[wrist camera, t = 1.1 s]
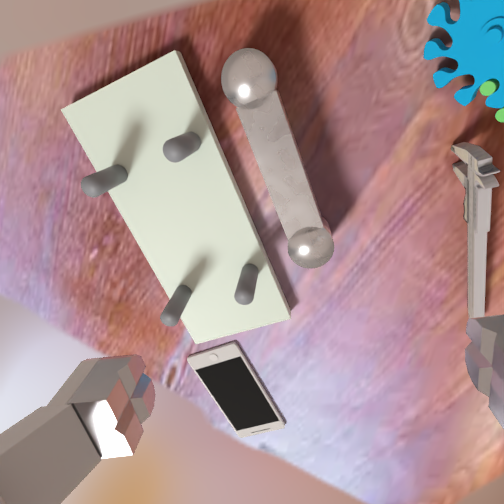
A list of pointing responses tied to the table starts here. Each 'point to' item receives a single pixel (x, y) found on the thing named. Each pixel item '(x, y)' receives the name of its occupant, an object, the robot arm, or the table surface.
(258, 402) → the smartphone
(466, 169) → the caliper
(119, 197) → the board
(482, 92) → the gear
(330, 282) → the table surface
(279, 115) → the grey dumbbell
